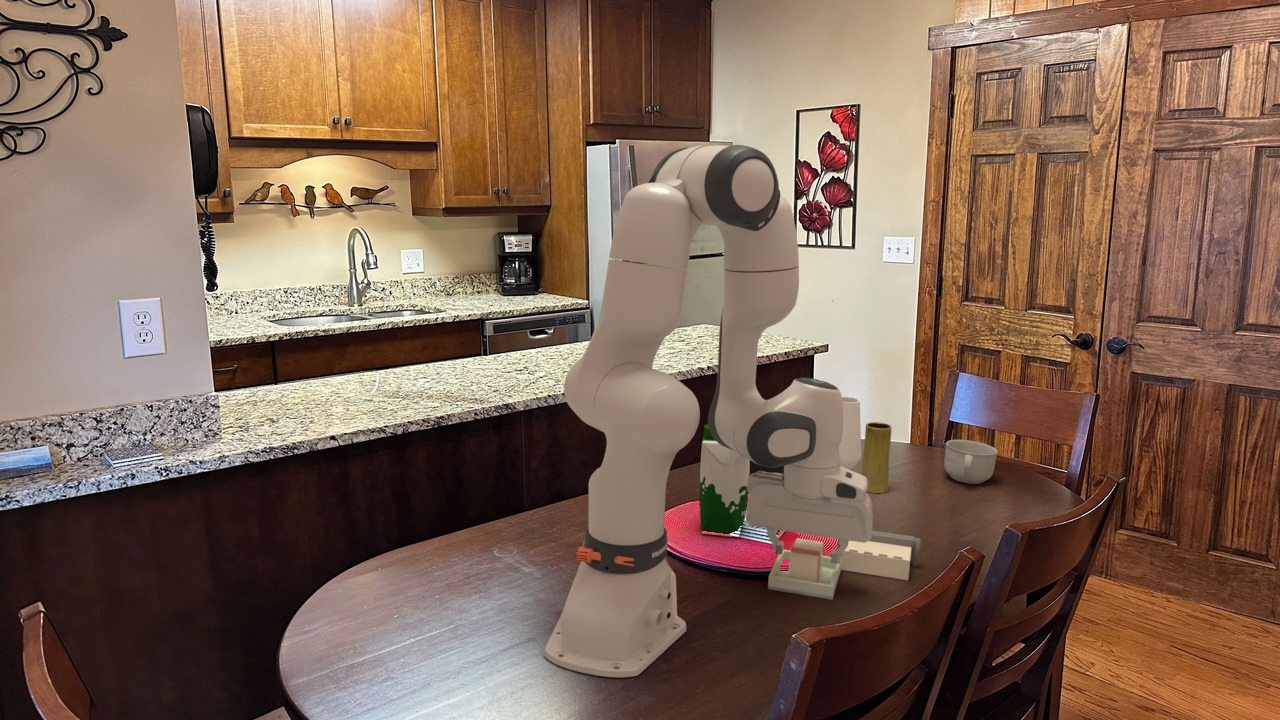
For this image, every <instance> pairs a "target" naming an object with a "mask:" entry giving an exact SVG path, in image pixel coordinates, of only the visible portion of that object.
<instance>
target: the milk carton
mask: <svg viewBox="0 0 1280 720" xmlns="http://www.w3.org/2000/svg"><path fill="white" fill-rule="evenodd" d="M749 465H750V460H749V459H747V458H745V457H743V456H742V455H740V454H739V453H737V452H736V451H733V450H731V449H729V448H726V447H724V446H722V445H720V444H719V443H718V442H716V441H715V439H714V438H713V437H712V435H711V433H710V430H709V426H708V423H707V424H705V425H703V436H702V443H701V453H700V469H699V474H700V475H699V497H698V498H699V502H698V503H699V505H698V506H699V522H700V531H701V530H702V531H707V532H715V533H723V534H730V533H732V532H735V531H737V530H738V529H739V527H740V526H742V525H744V522H745V519H746V518H745V517H746V514H747V507H748V502H749V493H748V490H747V480H748V477H749V469H750V467H749ZM742 527H743V526H742Z"/></svg>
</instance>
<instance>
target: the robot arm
mask: <svg viewBox="0 0 1280 720" xmlns="http://www.w3.org/2000/svg"><path fill="white" fill-rule="evenodd" d="M617 216H618V217H617V219H616V223H615V227H614V230H613V235H612V240H611V243H610V244H611V245H610V250H609V254H608V255H609V256H608V257H609V259H608V262H607V269H606V276H605V284H604V288H603V296H602V302H601V307H600V311H599V315H598V319H597V321H596V325H595V328H594V331H593V333H592V336H591V338H590V340H589V342H588V344H587V347H586V349H585V350H584V353H583V354H582V356H581V357H580V358H579V359H578V360H577V361H576V362H574V363H573V365H572V366H571V367H570V368H569V370H568V372H567V374H566V375H565V376H566V377H565V379H564V383H563V393H564V398H565V401H566V403H567V405H568V406H569V408H571V410H572V411H573V412H574V413H575V414H576V416H578V418H579V419H580V420H581V421H582V422H583V423H585V424H587V425H588V426H590V427H593V428H595V429H596V430H597V431H600V432H603V433H604V435H605V439H606V447H605V451H604V452H605V453H604V456H603V460H602V463H601V466H600V467H597V468H596V470H595V471H593V473H592V474H591V475H590V478H589V479H588V480H589V481H588V525H587V527H586V529H585V534H584V535H585V536H584V537H583V543H582V546H579V547H578V549H577V551H576V560H577V562H580V564H579V566H578V569H577V571H576V573H575V576H574V579H573V581H572V584H571V586H570V590H569V593H568V595H567V598H566V601H565V603H564V607H563V610H562V611H561V615H559V616H560V617H559V618H558V621H557V623H556V625H555V627H554V629H553V631H552V633H551V634H550V637H549V640H547V642H546V645H545V646H544V647H545V648H544V651H543V652H544V653H543V657H544V658H546V660H548V661H550V662H551V663H553V664H555V665H557V666H560V667H561V668H562V667H563V668H565V669H568V670H570V671H575V672H579V673H582V674H588V675H592V676H600V677H604V678H605V677H606V678H631V677H632V678H633V677H636V676H639V675H640V674H641V673H643V672H644V670H646V669H647V668H648V667H649V666H650V665H651V664H652V663H654V662H655V661H656V659H658V658H659V657H660V656H661V655H662V654H663V653H665V651H666V650H667V649H668V648H669V647H671V646H672V645H673V644H674V643H675V642H676V641H677V640H679V638H681V637H682V636H683V634H685V632H687V623H686V621H685V620H684V619H683V618H682V617H679V616H678V605H677V604H678V603H677V601H678V599H677V598H678V597H677V578H676V577H677V576H676V574H675V572H674V570H673V569H672V568H671V567H670V565H669V563H668V561H667V558H666V557H667V554H668V546H669V545H668V544H669V542H668V541H669V538H668V533H667V529H666V527H665V515H666V514H665V512H666V494H667V493H666V490H667V483H668V477H669V473H670V469H671V466H672V464H673V462H674V459H675V457H676V455H677V453H678V452H679V451H680V450H682V449H683V448H684V447H686V445H688V444H689V443H690V442H691V440H692V439H693V438H694V436H695V434H696V432H697V429H698V428H699V424H700V418H701V417H700V416H701V414H700V413H701V411H700V405H699V401H698V398H697V397H696V395H695V394H694V393H693V391H692V390H690V388H688V387H687V386H686V385H685V384H684V383H682V382H681V381H680V380H678V379H677V378H676V377H675V376H673V375H672V374H669V373H666V372H663V371H661V370H657V369H656V368H655V369H654V368H653V364H654V361H655V357H656V356H657V353H658V351H659V349H660V347H661V345H662V343H663V342H664V340H665V339H666V337H667V336H669V335H670V334H673V332H674V331H676V330H677V328H678V326H679V324H680V322H681V317H682V309H683V303H684V299H685V298H684V297H685V290H686V284H687V278H688V270H689V263H690V255H691V245H692V241H693V238H694V236H695V234H696V233H697V231H698V229H699V228H700V227H701V225H707V226H716V227H717V229H718V231H719V233H720V235H721V237H722V240H723V245H724V247H723V249H724V250H723V268H724V269H723V270H724V273H723V274H724V276H723V277H724V293H723V296H724V297H723V306H722V310H721V316H720V325H719V332H718V333H719V336H718V337H719V338H718V352H717V353H718V355H717V358H718V359H717V374H716V375H717V377H716V378H717V379H716V387H715V392H714V395H713V398H712V401H711V404H710V406H709V410H708V413H707V414H708V415H707V424H708V426H709V430H710V433H711V435H712V437H713V438H714V439H715V441H716V442H718V443H719V444H720V445H722V446H724V447H726V448H729V449H731V450H733V451H736V452H737V453H739V454H740V455H742V456H743V457H745V458H747V459H749V460H751V461H752V462H754V463H756V464H758V465H760V466H763V467H767V468H776V467H781V466H784V474H782V473H769V472H765V471H757V473H753V474H751V475H750V476H749V477H748V480H747V490H748V495H749V496H748V505H747V510H746V514H745V517H746V518H745V519H746V521H747V523H748V525H750V526H751V527H757V528H763V529H766V535H767V537H768V539H769V541H770V542H771V544H772V554H775V555H779V554H780V555H782V553H783V550H784V543H785V541H781V540H779V538H778V536H777V532H778V531H784V532H790V533H797V534H803V535H810V536H815V537H816V536H817V537H823V538H824V537H825V538H830V539H836V540H838V539H839V545H841V546H840V547H839V548H838V550H837V549H832V550H831V553H830V557H831V563H836V564H840V562H841V554H842V553H843V552H844V550H845V549H846V548H847V547H848V544H849V541H856V542H862V543H866V542H867V541H869V540H870V539H871V537H872V532H873V531H874V530H873V529H874V513H873V504H872V500H871V497H870V496H869V493H868V492H867V488H868V481H867V478H866V477H865V476H863V475H861V473H858V472H856V471H853V470H851V469H850V470H849V469H847V468H845V467H842V466H840V462H841V460H840V455H839V444H840V441H841V439H842V433H843V401H842V397H843V396H842V394H841V393H842V392H841V390H840V389H839V388H838V387H837V386H836V385H834V384H832V383H830V382H828V381H827V382H826V381H824V380H820V379H817V378H811V377H799V378H798V377H797V378H794V379H793V381H792V383H791V384H790V385H789V386H788V387H787V388H785V390H783V391H782V392H780V393H779V394H778V395H775V396H773V397H772V398H769V399H765V398H763V397H762V396H761V394H760V392H759V391H758V389H757V385H756V378H757V365H758V364H757V363H758V362H757V361H758V347H759V346H758V345H759V341H760V338H761V336H762V334H763V333H764V332H765V331H766V330H767V329H768V328H770V327H773V326H775V325H777V324H778V323H781V322H782V321H783V320H784V319H786V318H787V317H788V316H789V315H790V314H791V312H792V311H793V310H794V308H795V307H796V304H797V300H798V296H799V295H798V294H799V290H800V289H799V287H800V266H799V265H800V264H799V263H800V262H799V257H800V256H799V244H798V237H797V230H796V224H795V217H794V213H793V210H792V206H791V204H790V203H789V201H788V200H787V199H786V198H785V197H784V196H782V195H781V191H780V186H779V179H778V174H777V171H776V168H775V166H774V165H773V163H772V160H771V159H770V158H769V157H768V156H767V155H766V154H765V153H764V152H762V151H761V150H759V149H757V148H754V147H752V146H747V145H743V144H732V145H720V144H715V143H714V144H713V143H709V144H708V143H707V144H699V145H695V146H691V147H682V148H679V149H676V150H675V149H674V150H673V151H671V152H670V153H668V154H666V155H664V157H662V159H661V160H660V161H659V162H657V165H656V166H655V168H654V169H653V172H652V174H651V177H650V179H649V180H648V181H647V182H646V183H642V184H639V185H636V186H634V187H633V188H631V189H630V190H628V192H627V193H626V195H625V197H624V199H623V201H622V205H621V207H620V210H619V214H618V215H617ZM754 475H756V476H754Z"/></svg>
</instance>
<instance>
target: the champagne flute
mask: <svg viewBox="0 0 1280 720" xmlns="http://www.w3.org/2000/svg"><path fill="white" fill-rule="evenodd" d="M842 401H843V433H842V439H841V441H840V444H839V455H840V460H841V462H840V466H842V467H845V468H847V469H849V470H851V469H853V468H854V467H855V466H856V465H858V463H859V462H860V460H861V458H862V436H861V435H862V431H861V430H862V429H861V427H862V426H861V400H860V399H859V398H856V397H849V396H842Z"/></svg>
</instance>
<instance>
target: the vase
mask: <svg viewBox="0 0 1280 720" xmlns="http://www.w3.org/2000/svg"><path fill="white" fill-rule="evenodd" d="M864 433H865V434H864V443H863V444H864V445H863V446H864V447H863V452H862V453H863V456H862V463H861V467H862V468H861V473H860V474H861V475H863V476H865V477H866V478H867V481H868V488H867V492H866V493H868V494H885V493H887V492H889V489H890V488H889V473H890V471H889V466H890V465H889V463H890V454H891V453H890V451H891V439H892V426H891V424H888V423H886V422H875V421H873V422H868V423H866V424H865V432H864Z"/></svg>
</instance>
